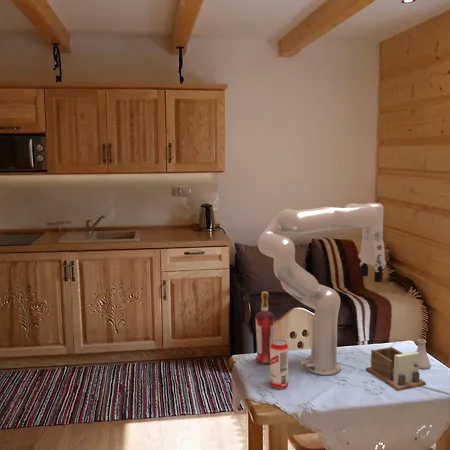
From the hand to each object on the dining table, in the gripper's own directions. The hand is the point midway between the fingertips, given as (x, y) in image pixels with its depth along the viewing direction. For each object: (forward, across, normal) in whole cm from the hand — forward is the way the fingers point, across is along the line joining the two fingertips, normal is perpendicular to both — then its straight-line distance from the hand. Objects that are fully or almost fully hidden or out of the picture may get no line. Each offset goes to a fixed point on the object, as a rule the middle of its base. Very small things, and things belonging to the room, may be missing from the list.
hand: (371, 279), depth 198 cm
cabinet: (+32, -18, +1) cm, 37 cm away
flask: (+32, -12, -15) cm, 38 cm away
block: (+31, -24, 0) cm, 39 cm away
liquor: (+32, +10, +40) cm, 53 cm away
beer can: (+32, -11, +43) cm, 55 cm away
